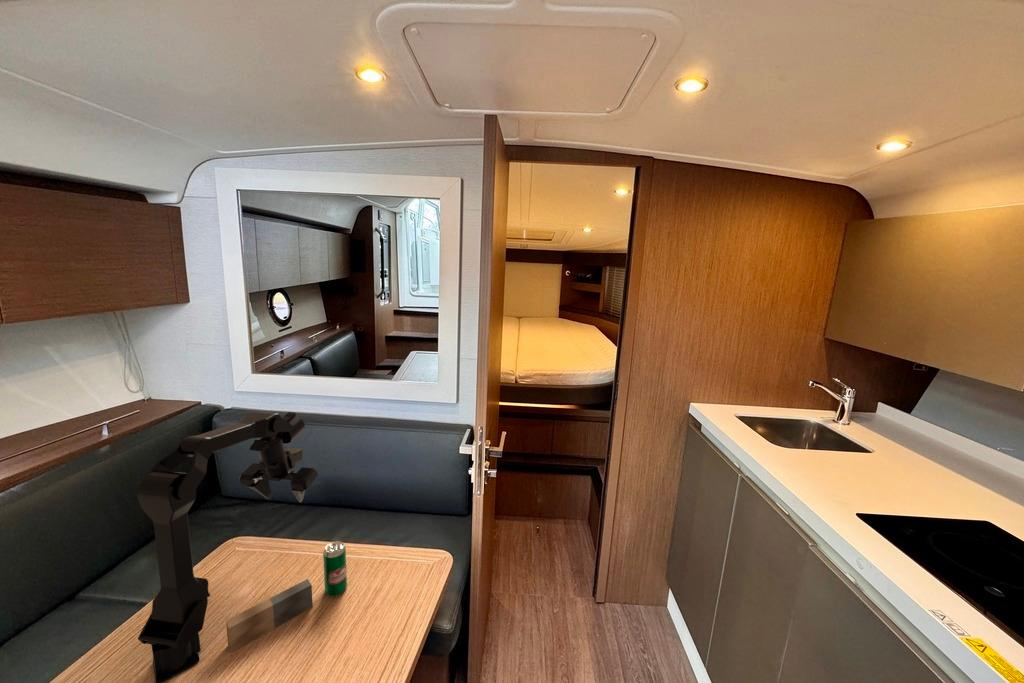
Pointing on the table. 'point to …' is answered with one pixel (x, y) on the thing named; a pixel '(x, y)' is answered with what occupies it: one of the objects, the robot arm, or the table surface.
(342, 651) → the table surface
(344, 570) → the soda can
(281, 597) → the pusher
